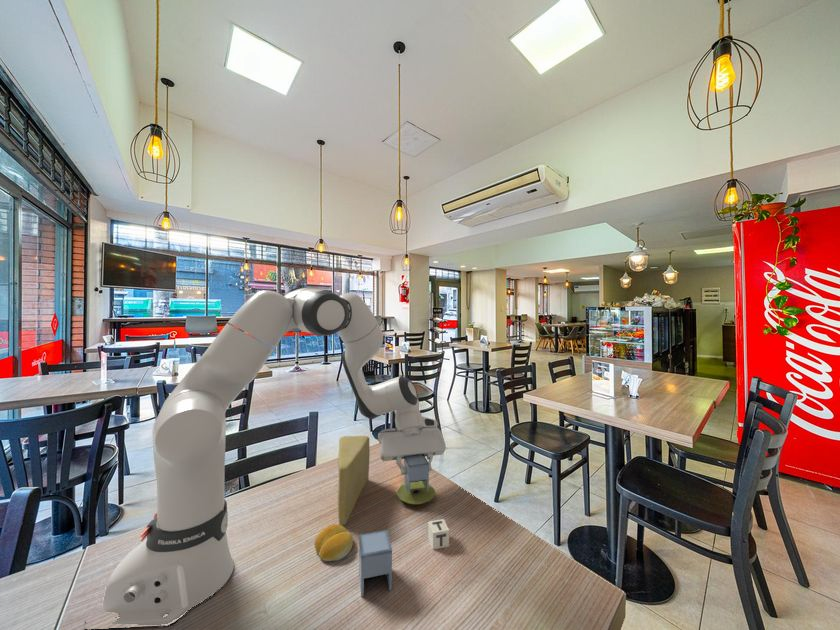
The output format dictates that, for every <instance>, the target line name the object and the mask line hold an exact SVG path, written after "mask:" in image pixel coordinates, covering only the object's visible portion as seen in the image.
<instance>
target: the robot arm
mask: <svg viewBox="0 0 840 630" xmlns="http://www.w3.org/2000/svg"><path fill="white" fill-rule="evenodd" d="M295 328H298V329H299V330H300V331H302V332H304V333H308V334H313V335H316V336H319V337H322V336H324V337H325V336H326V337H327V336H330V335H334V334H336V333H338V336H339V337H340V339H341V341H342V342H343V345H344V350H343V352H342V354H341V362H342V365H343V369H344V372H345V375H346V377H347V380H348V382H349V385H350V387H351V389H352V392H353V394H354V396H355V401H356V404H357V408H358V411H359V412H360V414H361V415H362V416H363V417H365V418H366V419H369V420H374V419H376V418H378V417H381V416H382V415H385V414H388V413H391V412H394V414H395V417H394V423H395V428H384V429H382V430H381V431H379V432H378V434H377V440H378V442H379V444H380V446H379V447H380V448H379V449H380V451H379V452H380V453H379V454H380V455H379V457H380V460H382V461H383V462H390V461H395V464H396V465H397V466H398V468H399V469H400V474H401V476H404V475H405V474H407V470H406V469H407V468H406V466H404V464H403V463H402V460H404V456H412V455H421V454H424V456H425V458H426V460H427V461H428V463H429V472H431V471H432V461H433V458H434V457H435V456H441V455H443V454H444V453H445V451H446V449H447V447H446V441H445V438H444V435H443V433H442V431H441V429H440V428H438V424H439V423H438V420H437V419H433V418H429V417H425V416H422V413H421V411H420V402H419V397H418V396H419V395H418V391H417V388H416V386H415V383H414V382H413V381H412V379H411V380H410V379H409V378H407V377H406V376H397V377H394V378H391V379H388V380H385V381H383V382H380V383H377V384H373V385H372V384H371V385H370V384H368V383H367V381H366V378H365V375H364V373H363V372H364V371H363V369H362V368H363V367H364V366H365V365H366V364H367V363H369V361H371V360H372V359H373V358H374V357H375V356H376V355H377V354H378V353H379V351H380V350H381V348H382V346H383V343H384V334H383V330H382V328H381V326H380V324H379V322H378V321H377V318H376V316H375V315H374V313H373V312H372V310H371V308H369V306H368V305H367V304H366V302H365V301H364V299H363V298H362V297H361V296H360V295H358V294H357V293H353V292H346V293H343V294H340V295H338V294H337V293H335V292H333V291H330V290H329V291H328V290H323V289H320V288H318V287H301V286H300V287H296V288H293V289H290V290H288V291H287V292H284V293H282V294H281V293H280V292H277V291H274V290H269V289H268V290H267V289H263V290H260V291H257V292H256V293H254V294H253V295H252V296H251V297H250V298H248V299H247V300H246V302H245V303H243V304H242V305H241V306H240V308H238V309H237V310H236V311H235V313H233V315H232V317H231V318H230V319H229V320H228V322H226V324H225V325H224V327H222V329H221V331H220V332H218V334H217V336H216V337H215V338H214V339H213V341H212V342H211V344H209V346H208V348H207V349H206V350H205V351H204V353H203V354H202V355H201V356H200V358H199V359H198V360H197V361H196V362H195V364H194V365H193V366H192V367H191V368H190V369H189V370H188V372H187V373H186V374H184V375H185V376H184V377H183V378H182V379H181V380H180V381H179V383H178V384H177V386H175V388H174V389H173V390H172V392H171V393H169V395H168V397H166V398H165V401H164V402H163V404H162V406H161V408H160V411H159V413H158V415H157V417H156V419H155V421H154V424H153V426H152V447H153V448H152V449H153V450H152V452H153V463H154V472H155V479H156V491H157V492H156V495H157V496H156V510H157V511H156V513H155V514H154V516H153V519H152V520H151V521H150V522H149V523H148V524H147V525H146V528H145V530H144V531H143V532H142V534H141V535H140V537H141V538H140V543H139V544H138V545H136V546H135V547H134V548H133V549H132V550H130V551H129V552H128V553H127V554H126V556H124V558H122V560H121V561H120V562H119V563H118V564H117V566H116V567H115V568H114V570H113V571H112V573H111V574H110V576H109V578H108V581H107V582H106V586H105V588H104V589H105V593H104V598H103V604H102V610H103V611H107V612H115V613H118V615H119V616H118V617H120V618H119V619H117V621H115V622H111V623H112V624H138V625H161V624H168V623H170V622H172V621H173V620H175V619H177V618H179V617H180V616H181V615H183V614H184V613H185V612H186V611H188V610H189V609H190V608H192V607H193V606H195V605H197V604H199V603H200V602H201V601H204V600H205V599H206V598H208V597H209V596H211V595H212V594H213V593H215V592H216V591H217V590H218V589H219V590H220V589H222V588H221V587H224V585H225V584H227V582H228V580H229V579H230V577H231V576H232V574H233V572H234V568H235V563H234V560H233V558H232V555H231V552H230V548H229V542H228V537H227V529H228V524H229V523H228V522H229V513H228V502H227V500H226V499H225V495H226V492H225V491H226V490H225V489H226V487H225V486H226V485H225V479H226V478H225V475H226V474H225V472H226V471H225V465H226V461H225V460H226V434H227V433H226V431H227V430H226V429H227V428H226V427H227V419H226V411H227V410H228V408H229V407H230V405H232V403H233V402H234V401H235V400H236V398H237V397H238V396H239V395H240V394H241V393H242V391H244V389H245V388H246V387H247V386H248V385H249V384H250V383H251V382H253V380H255V378H256V377H257V375H258V374H259V373H260V371H261V370H262V368H263V367H264V365H265V364H266V362H267V361H268V359H269V358H270V356H271V355H272V353H273V352H274V350H275V349H276V347H277V346H278V345H279V343H280V341H281V340H282V338H283V337H284V336H285V335H286V334H287V333H288V332H289V331H291V330H293V329H295ZM145 538H146V539H145ZM219 590H218V591H219ZM218 591H217V592H218ZM217 592H216V593H217ZM216 593H215V594H216ZM212 596H213V595H212ZM212 596H211V597H212ZM208 599H209V598H208ZM205 601H206V600H205ZM205 601H204V602H205ZM200 604H201V603H200ZM200 604H199V605H200ZM197 606H198V605H197ZM195 607H196V606H195ZM192 609H193V608H192ZM188 612H189V611H188ZM165 614H168V616H166V617H164V618H163V616H164V615H165ZM115 618H117V617H115Z"/></svg>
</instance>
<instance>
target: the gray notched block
mask: <svg viewBox="0 0 840 630" xmlns="http://www.w3.org/2000/svg"><path fill="white" fill-rule="evenodd" d="M358 540H359V541H358V545H359V546H358V547H359V548H358V551H359V552H358V554H359V555H358V574H359V575H358V576H359V589H360V597H361V598H363V597H364V595H365V581H364V580H365V579H369V578H374V577H378V576H384V575H386V580H387V587H388V590H389V591H392V590H393V585H392V584H393V579H392V578H393V547H392V544H391V540H390V535H389V531H388V529H384V530H378V531H377V530H376V531H371V532H367V533H366V532H365V533H361V534H359V537H358Z"/></svg>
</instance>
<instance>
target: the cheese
mask: <svg viewBox="0 0 840 630" xmlns="http://www.w3.org/2000/svg"><path fill="white" fill-rule="evenodd" d="M338 441H339V442H338V456H337V457H338V458H337V459H338V460H337V462H338V467H337V468H338V484H337V485H338V486H337V487H338V488H337V492H338V493H337V514H338V515H337V516H338V525H341V526H345V525H347V523H348V521H349V518H350V516H351V515H352V513H353V510H354V508H355V506H356V503H357V501H358V500H359V499H358V498H359V496H360V494H361V493H362V491H363V489H364V487H365V486H366V484H367V482H369V476H370V475H369V474H370V454H371V452H370V449H371V448H370V437H369V436H367V435H349V436H348V435H346V436H345V435H344V436H341V437H339V439H338Z"/></svg>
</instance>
